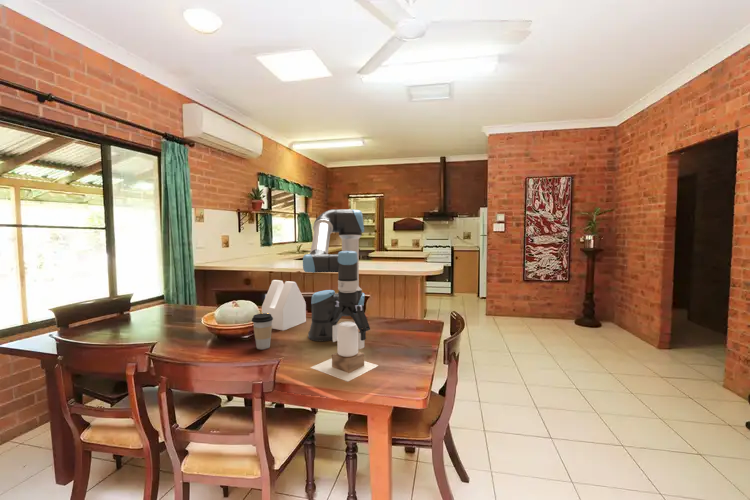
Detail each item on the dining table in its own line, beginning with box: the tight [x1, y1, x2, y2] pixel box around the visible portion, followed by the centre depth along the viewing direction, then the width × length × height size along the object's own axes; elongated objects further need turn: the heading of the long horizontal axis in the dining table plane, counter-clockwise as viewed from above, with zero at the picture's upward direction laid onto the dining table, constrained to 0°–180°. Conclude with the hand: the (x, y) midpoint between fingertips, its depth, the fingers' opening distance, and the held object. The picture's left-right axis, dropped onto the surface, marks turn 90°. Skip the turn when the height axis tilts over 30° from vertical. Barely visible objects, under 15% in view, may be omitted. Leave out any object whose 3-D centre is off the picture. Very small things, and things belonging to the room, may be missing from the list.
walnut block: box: [331, 351, 365, 373], centre depth 137 cm, size 9×9×5 cm
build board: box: [309, 357, 379, 382], centre depth 137 cm, size 20×18×1 cm
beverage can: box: [336, 321, 359, 357], centre depth 136 cm, size 8×8×12 cm
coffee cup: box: [251, 313, 273, 350], centre depth 161 cm, size 9×9×15 cm
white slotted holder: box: [261, 279, 307, 331], centre depth 199 cm, size 19×15×25 cm
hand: (348, 344), depth 137 cm, fingers open, 13 cm apart
